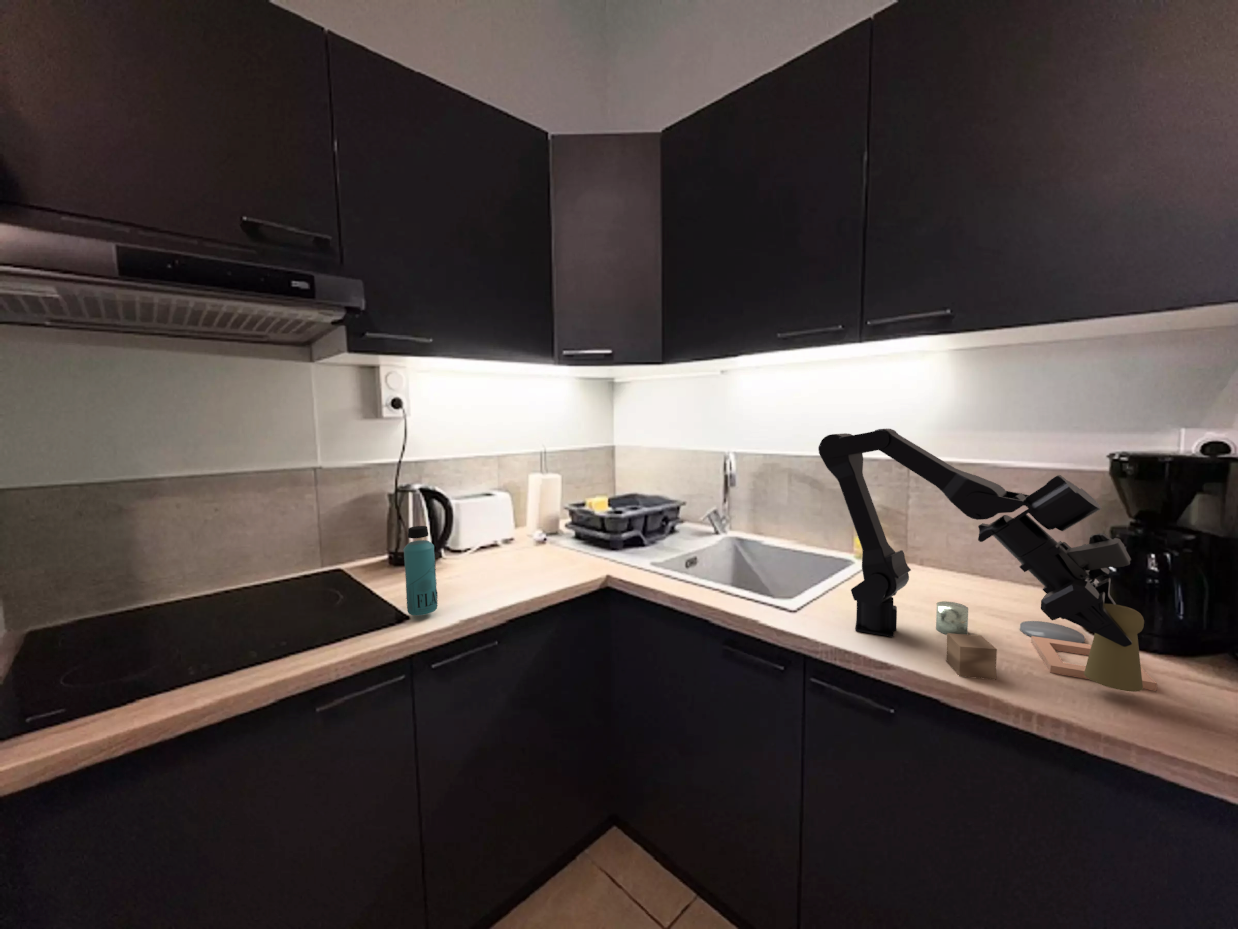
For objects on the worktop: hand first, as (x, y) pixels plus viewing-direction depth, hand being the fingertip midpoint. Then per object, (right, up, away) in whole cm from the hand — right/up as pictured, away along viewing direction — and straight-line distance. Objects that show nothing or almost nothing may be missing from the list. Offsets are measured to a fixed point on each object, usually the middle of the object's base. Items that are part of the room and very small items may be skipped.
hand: (1130, 639), depth 69 cm
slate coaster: (+8, -7, +22) cm, 24 cm away
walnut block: (-16, -9, +10) cm, 20 cm away
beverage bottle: (-116, -9, +38) cm, 122 cm away
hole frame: (+4, -8, +11) cm, 14 cm away
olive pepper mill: (-1, -7, +2) cm, 7 cm away
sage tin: (-9, -7, +24) cm, 27 cm away
